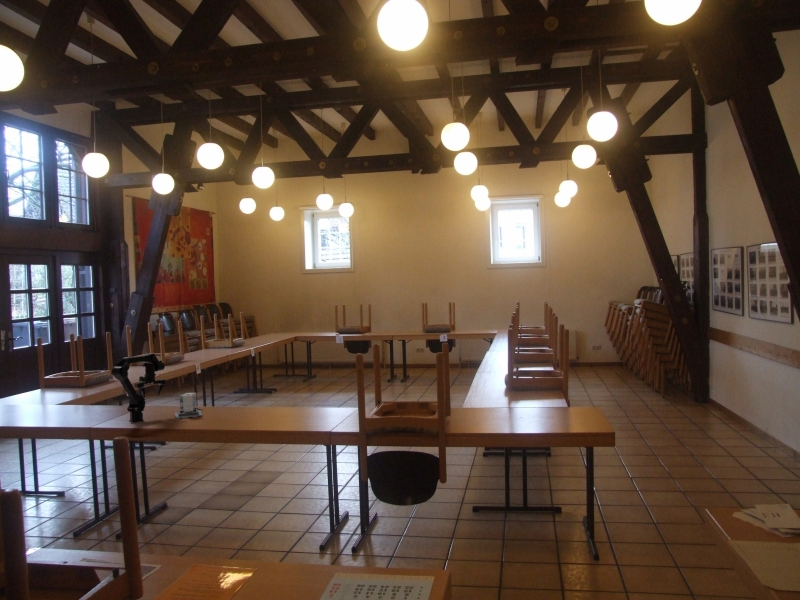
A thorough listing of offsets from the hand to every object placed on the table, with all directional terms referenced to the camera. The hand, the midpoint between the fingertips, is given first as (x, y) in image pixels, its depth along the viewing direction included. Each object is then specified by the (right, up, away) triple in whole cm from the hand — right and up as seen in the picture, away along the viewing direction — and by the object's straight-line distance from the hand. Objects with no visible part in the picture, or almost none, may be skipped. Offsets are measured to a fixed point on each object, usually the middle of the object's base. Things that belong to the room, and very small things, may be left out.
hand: (151, 396), depth 377 cm
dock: (+24, -12, 0) cm, 27 cm away
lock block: (+24, -11, 0) cm, 27 cm away
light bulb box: (+17, -13, +20) cm, 29 cm away
